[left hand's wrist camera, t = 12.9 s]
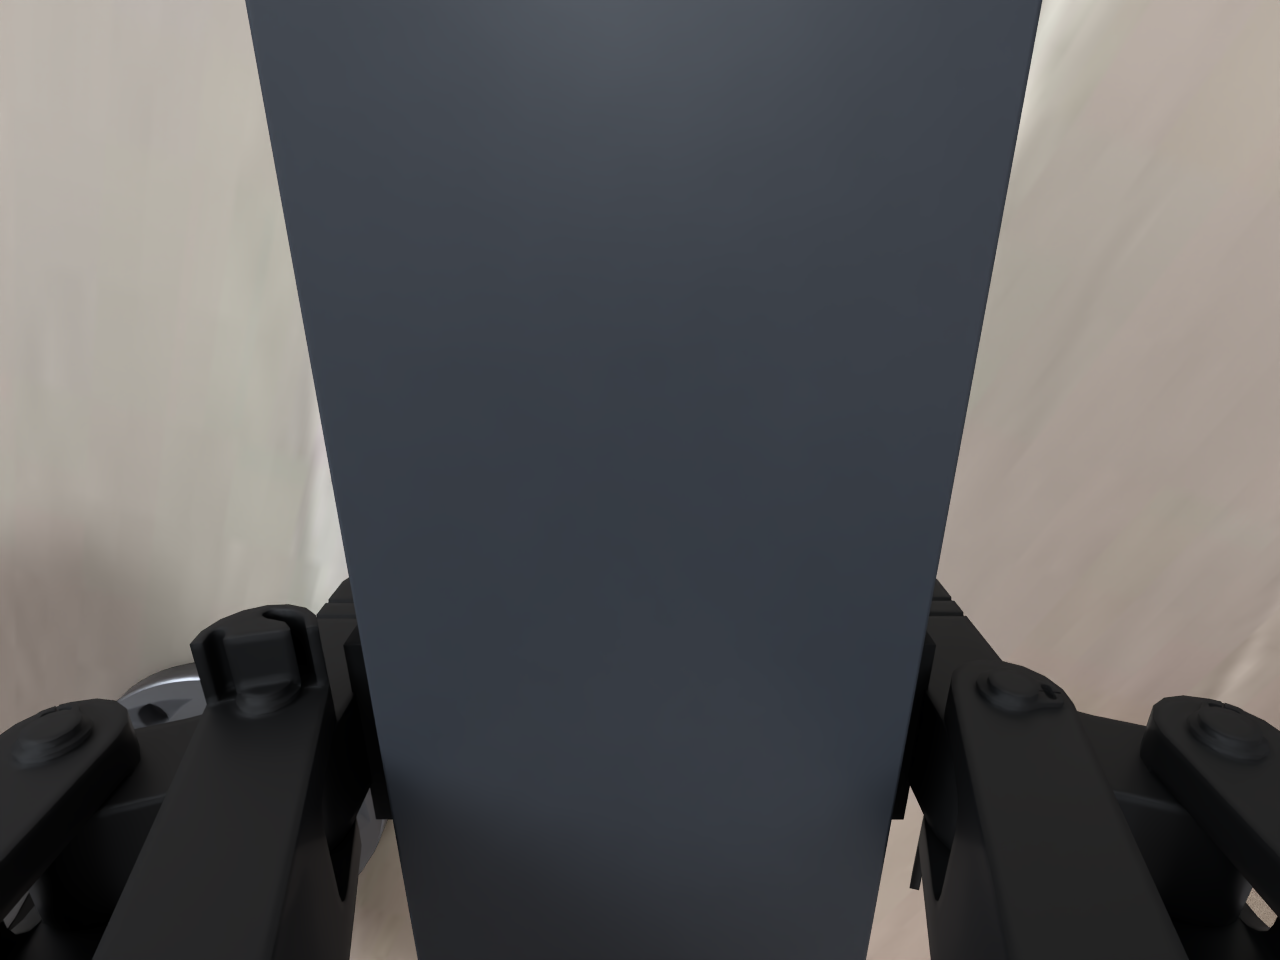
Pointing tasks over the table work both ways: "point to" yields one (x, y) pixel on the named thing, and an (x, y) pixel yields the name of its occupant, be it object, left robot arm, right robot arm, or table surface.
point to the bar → (642, 435)
